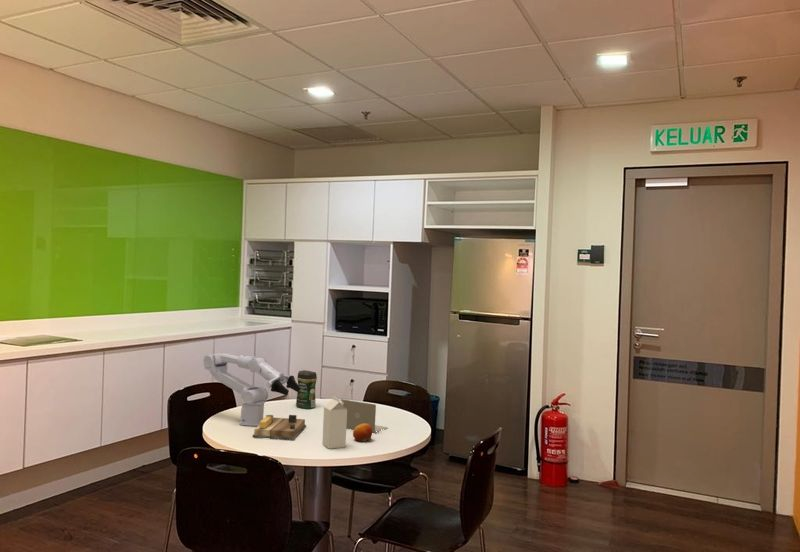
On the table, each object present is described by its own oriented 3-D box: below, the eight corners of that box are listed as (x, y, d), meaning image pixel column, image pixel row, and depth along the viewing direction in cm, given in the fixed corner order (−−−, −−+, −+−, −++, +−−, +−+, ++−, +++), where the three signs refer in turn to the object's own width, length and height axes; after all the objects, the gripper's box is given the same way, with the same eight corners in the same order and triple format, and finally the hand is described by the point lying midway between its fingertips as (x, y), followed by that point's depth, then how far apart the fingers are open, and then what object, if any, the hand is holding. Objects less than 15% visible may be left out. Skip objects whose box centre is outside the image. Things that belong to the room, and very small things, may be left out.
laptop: (388, 429, 265) (389, 400, 265) (374, 435, 253) (375, 404, 254) (353, 423, 273) (355, 394, 273) (339, 428, 262) (340, 399, 262)
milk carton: (328, 449, 228) (330, 400, 228) (322, 444, 234) (324, 396, 234) (345, 447, 231) (347, 399, 231) (338, 442, 237) (341, 395, 238)
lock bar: (266, 420, 253) (266, 414, 253) (273, 420, 253) (274, 415, 253) (258, 427, 240) (258, 421, 240) (266, 428, 240) (266, 422, 240)
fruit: (368, 441, 236) (361, 422, 239) (354, 448, 240) (347, 429, 242) (380, 437, 243) (372, 419, 246) (366, 444, 247) (358, 426, 249)
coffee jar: (293, 407, 299) (294, 370, 299) (304, 404, 305) (305, 368, 305) (307, 410, 293) (309, 372, 293) (318, 407, 300) (319, 371, 300)
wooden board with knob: (252, 437, 239) (253, 421, 239) (268, 424, 261) (268, 410, 261) (293, 440, 238) (294, 424, 238) (305, 427, 260) (306, 412, 260)
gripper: (262, 369, 250) (285, 386, 244) (285, 364, 263) (307, 380, 257) (257, 384, 252) (279, 401, 246) (280, 378, 265) (301, 394, 259)
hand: (293, 391), depth 252 cm, fingers open, 7 cm apart
